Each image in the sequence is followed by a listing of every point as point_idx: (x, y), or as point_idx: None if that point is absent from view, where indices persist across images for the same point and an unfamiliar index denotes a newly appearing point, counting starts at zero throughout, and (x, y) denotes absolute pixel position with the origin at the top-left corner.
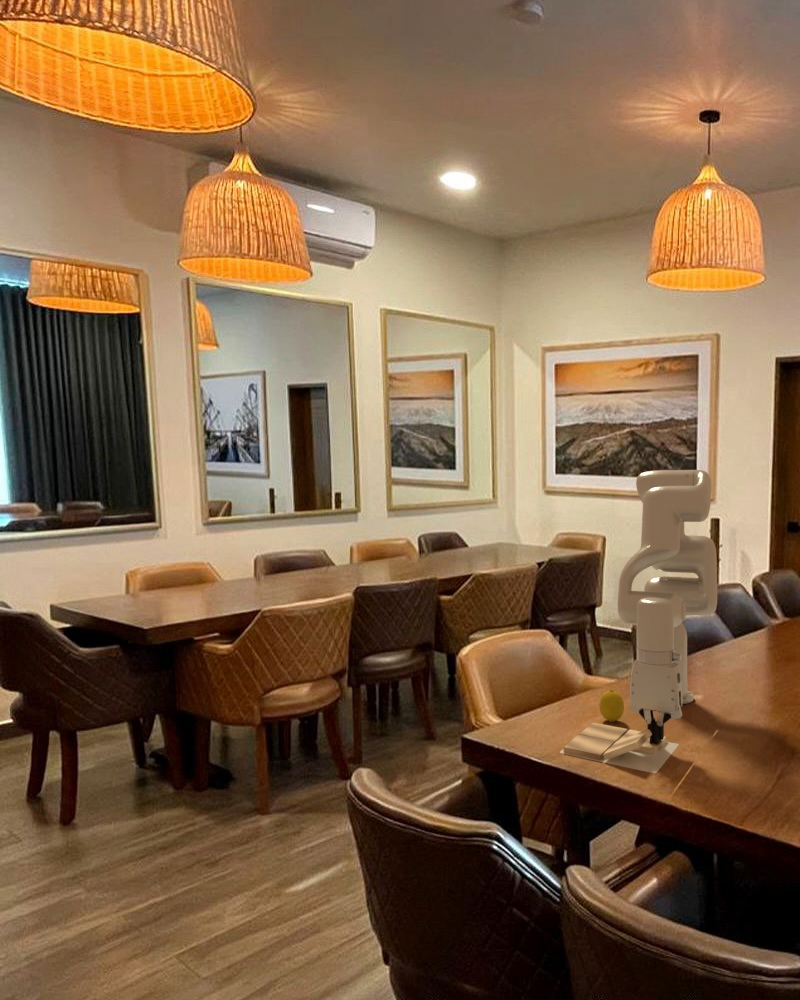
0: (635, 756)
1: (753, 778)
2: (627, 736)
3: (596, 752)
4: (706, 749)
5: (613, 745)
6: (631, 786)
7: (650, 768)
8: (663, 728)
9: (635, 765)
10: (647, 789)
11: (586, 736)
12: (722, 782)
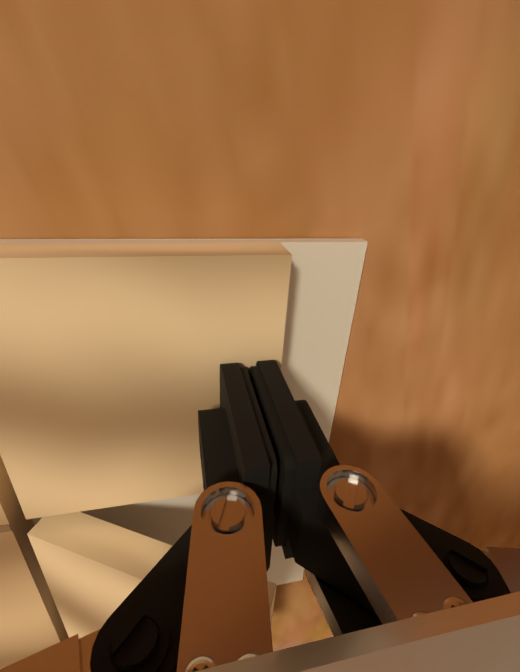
0: (183, 523)
1: None
2: (27, 422)
3: (32, 651)
4: (517, 203)
5: (61, 593)
6: None
7: (276, 564)
8: (328, 451)
9: None
10: (294, 632)
11: None
12: (501, 495)
